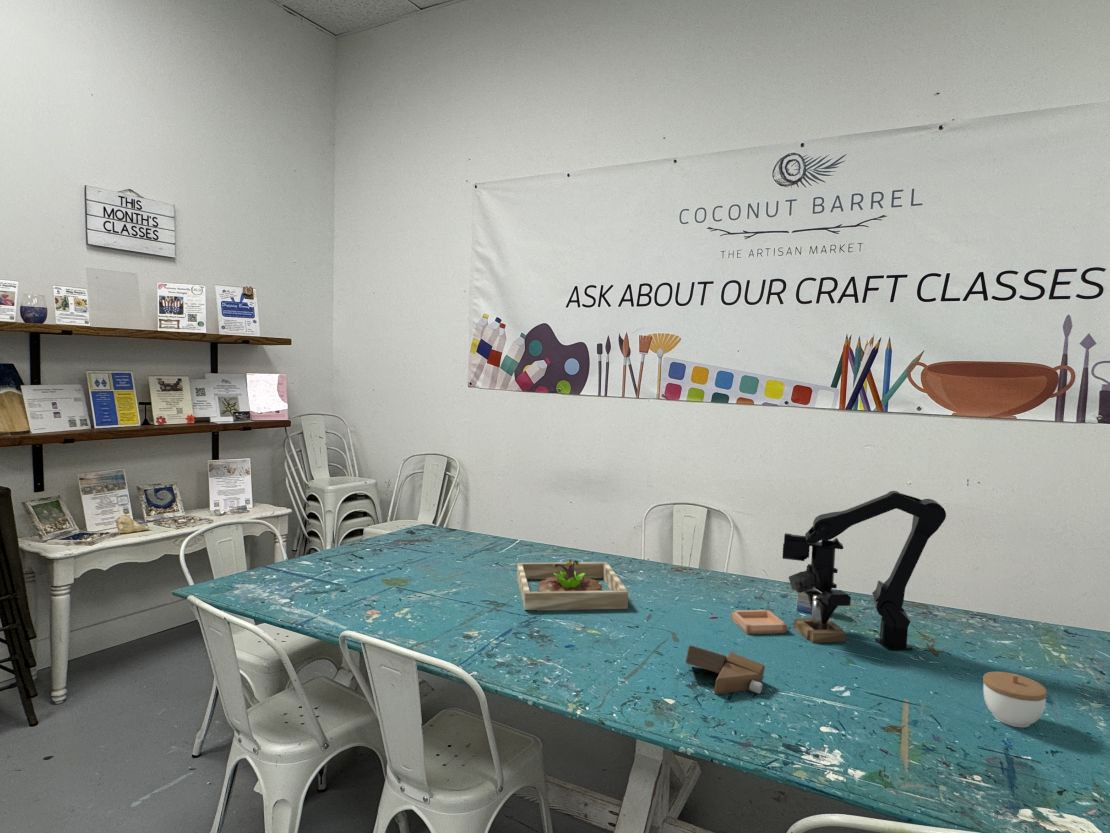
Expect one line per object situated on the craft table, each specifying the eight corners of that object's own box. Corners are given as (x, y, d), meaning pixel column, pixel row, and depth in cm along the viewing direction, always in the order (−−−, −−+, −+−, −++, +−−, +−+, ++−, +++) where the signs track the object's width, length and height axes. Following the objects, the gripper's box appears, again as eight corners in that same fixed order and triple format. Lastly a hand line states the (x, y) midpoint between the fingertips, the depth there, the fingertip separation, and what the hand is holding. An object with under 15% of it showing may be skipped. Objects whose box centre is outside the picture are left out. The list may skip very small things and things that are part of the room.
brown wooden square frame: (846, 641, 175) (847, 632, 175) (810, 642, 173) (811, 633, 173) (826, 626, 185) (826, 617, 184) (792, 627, 183) (792, 618, 183)
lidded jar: (1018, 706, 142) (1021, 663, 142) (1057, 734, 132) (1061, 688, 131) (968, 706, 142) (972, 663, 141) (1004, 733, 131) (1008, 687, 131)
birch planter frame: (627, 608, 194) (628, 591, 194) (524, 610, 191) (525, 593, 190) (606, 576, 224) (606, 561, 224) (516, 577, 220) (517, 562, 220)
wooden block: (750, 718, 141) (670, 683, 150) (767, 686, 152) (693, 655, 161) (755, 688, 139) (675, 654, 148) (773, 657, 150) (697, 628, 159)
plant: (529, 600, 200) (530, 563, 199) (545, 580, 219) (546, 547, 218) (595, 607, 196) (596, 570, 195) (605, 586, 215) (606, 552, 214)
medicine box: (795, 610, 197) (797, 581, 196) (798, 606, 201) (799, 577, 200) (824, 616, 193) (826, 586, 192) (826, 611, 197) (827, 582, 196)
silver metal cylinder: (829, 636, 177) (832, 599, 177) (815, 636, 177) (817, 599, 176) (821, 630, 181) (824, 594, 180) (808, 630, 181) (810, 594, 180)
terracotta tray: (786, 633, 179) (786, 624, 179) (747, 634, 178) (747, 625, 178) (767, 617, 190) (768, 609, 190) (730, 618, 189) (731, 610, 189)
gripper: (777, 553, 186) (775, 608, 187) (812, 574, 167) (808, 635, 168) (815, 553, 187) (812, 607, 188) (853, 573, 169) (850, 633, 170)
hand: (819, 620), depth 179 cm, fingers closed on silver metal cylinder, 4 cm apart
